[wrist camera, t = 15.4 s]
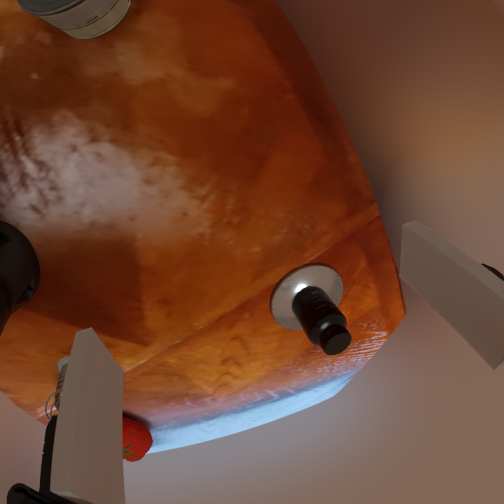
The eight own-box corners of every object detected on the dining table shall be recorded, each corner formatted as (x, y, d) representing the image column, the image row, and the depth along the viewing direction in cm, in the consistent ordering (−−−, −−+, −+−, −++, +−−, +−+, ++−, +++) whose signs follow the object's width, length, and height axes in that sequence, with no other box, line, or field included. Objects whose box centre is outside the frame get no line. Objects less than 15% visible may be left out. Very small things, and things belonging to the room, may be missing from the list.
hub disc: (276, 335, 57) (278, 339, 56) (263, 278, 50) (265, 282, 49) (341, 310, 59) (343, 314, 58) (338, 252, 52) (341, 256, 51)
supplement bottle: (321, 312, 56) (350, 356, 45) (288, 317, 54) (313, 364, 44) (328, 282, 53) (362, 324, 42) (293, 286, 51) (322, 332, 41)
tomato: (79, 417, 57) (76, 449, 48) (125, 401, 57) (125, 437, 48) (117, 440, 64) (117, 470, 56) (162, 426, 64) (166, 459, 56)
